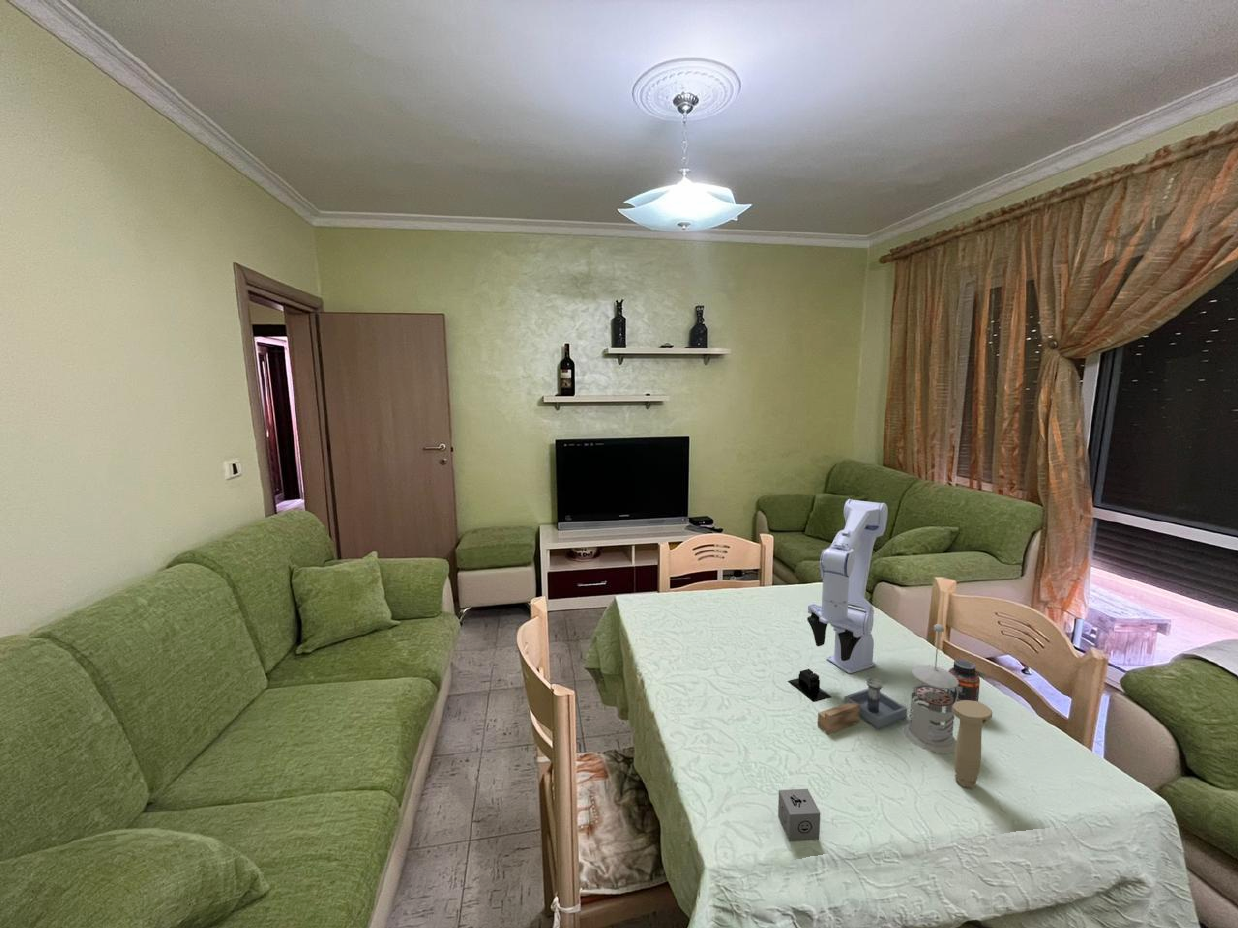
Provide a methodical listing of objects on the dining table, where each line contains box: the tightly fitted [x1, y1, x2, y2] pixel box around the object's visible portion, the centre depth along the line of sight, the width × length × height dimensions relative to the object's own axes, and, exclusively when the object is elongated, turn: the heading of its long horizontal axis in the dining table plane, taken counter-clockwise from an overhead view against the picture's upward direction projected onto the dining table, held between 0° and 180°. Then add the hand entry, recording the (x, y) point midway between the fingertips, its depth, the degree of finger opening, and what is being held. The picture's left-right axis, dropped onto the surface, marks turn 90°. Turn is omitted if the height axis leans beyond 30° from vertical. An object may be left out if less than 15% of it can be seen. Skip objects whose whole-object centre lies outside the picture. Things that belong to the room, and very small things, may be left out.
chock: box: [817, 702, 860, 735], centre depth 109 cm, size 9×3×4 cm, turn 114°
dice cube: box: [777, 788, 821, 842], centre depth 84 cm, size 5×5×5 cm
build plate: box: [787, 668, 833, 703], centre depth 122 cm, size 12×7×5 cm, turn 21°
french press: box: [903, 623, 959, 754], centre depth 104 cm, size 10×12×25 cm
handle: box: [952, 700, 993, 789], centre depth 92 cm, size 5×6×15 cm
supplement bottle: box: [946, 658, 981, 703], centre depth 113 cm, size 6×6×11 cm
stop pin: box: [866, 677, 884, 713], centre depth 113 cm, size 3×3×7 cm
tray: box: [843, 688, 908, 731], centre depth 113 cm, size 9×9×2 cm
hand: (832, 652), depth 121 cm, fingers open, 7 cm apart
